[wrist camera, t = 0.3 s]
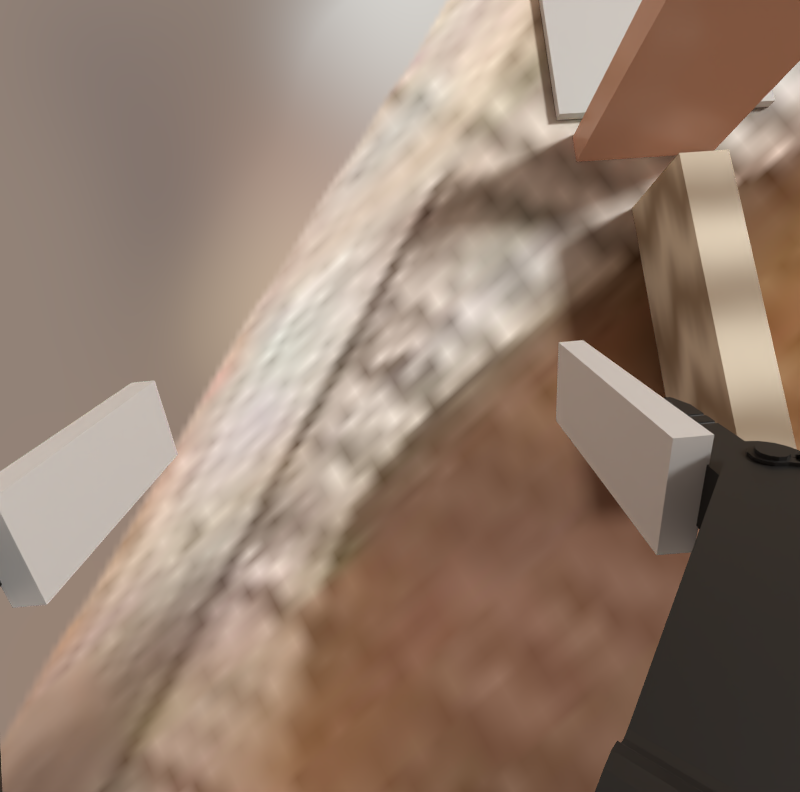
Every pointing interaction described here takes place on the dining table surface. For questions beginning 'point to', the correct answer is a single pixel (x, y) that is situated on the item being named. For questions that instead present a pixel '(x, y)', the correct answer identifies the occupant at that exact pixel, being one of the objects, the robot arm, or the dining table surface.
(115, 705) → the dining table surface
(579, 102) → the mat
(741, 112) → the tile
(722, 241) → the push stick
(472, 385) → the dining table surface
